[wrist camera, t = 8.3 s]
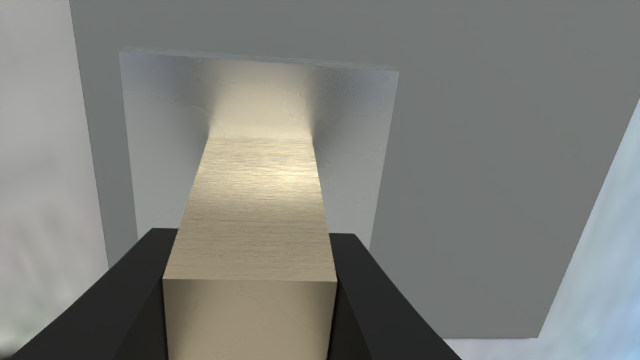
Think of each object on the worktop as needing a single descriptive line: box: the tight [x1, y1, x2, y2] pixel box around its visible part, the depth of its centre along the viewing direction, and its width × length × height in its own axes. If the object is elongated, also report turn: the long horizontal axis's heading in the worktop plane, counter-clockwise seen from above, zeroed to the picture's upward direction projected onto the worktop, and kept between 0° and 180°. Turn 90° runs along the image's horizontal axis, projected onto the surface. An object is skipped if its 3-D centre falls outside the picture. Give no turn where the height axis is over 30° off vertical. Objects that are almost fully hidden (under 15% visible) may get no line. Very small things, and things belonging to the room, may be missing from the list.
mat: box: [69, 0, 640, 338], centre depth 18 cm, size 20×20×1 cm
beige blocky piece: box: [119, 46, 399, 360], centre depth 9 cm, size 6×6×6 cm
